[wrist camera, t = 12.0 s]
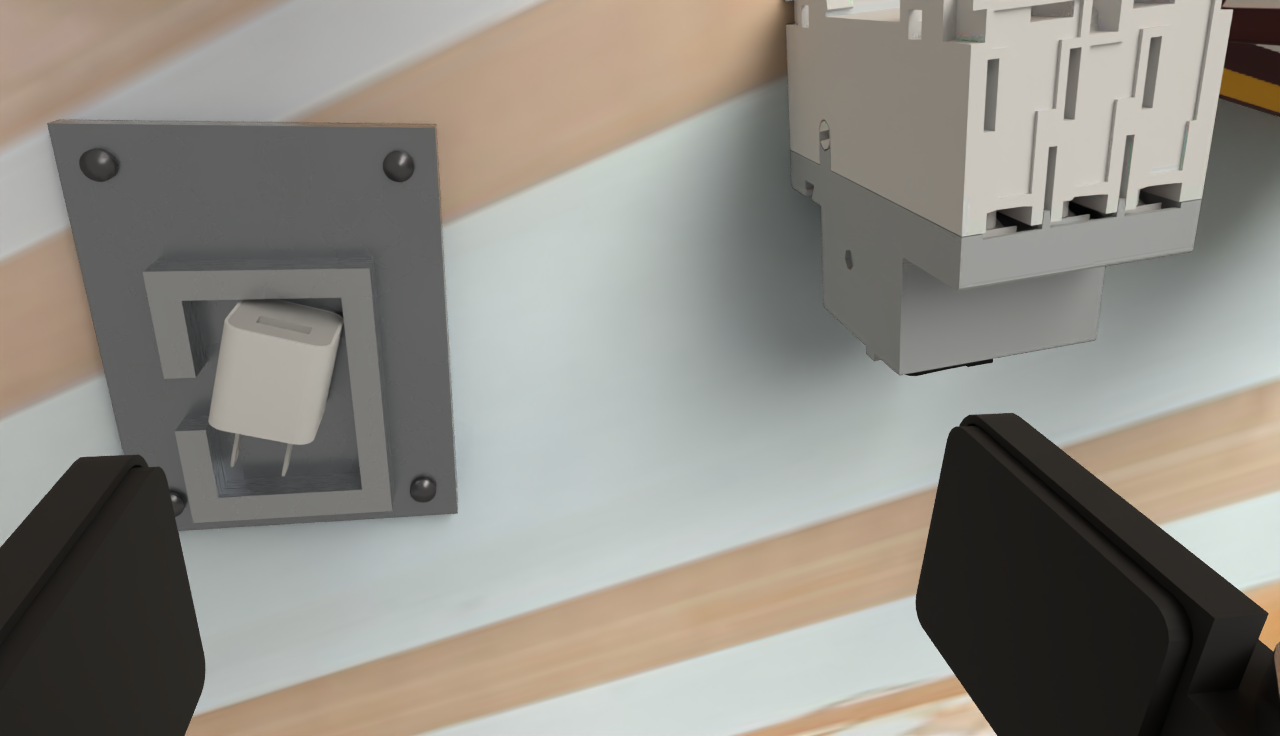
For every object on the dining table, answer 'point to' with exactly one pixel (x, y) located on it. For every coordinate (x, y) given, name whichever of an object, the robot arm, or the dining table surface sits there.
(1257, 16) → the decorative lantern
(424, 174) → the plate
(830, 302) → the circuit breaker
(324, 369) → the usb wall charger
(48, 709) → the robot arm
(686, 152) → the dining table surface
